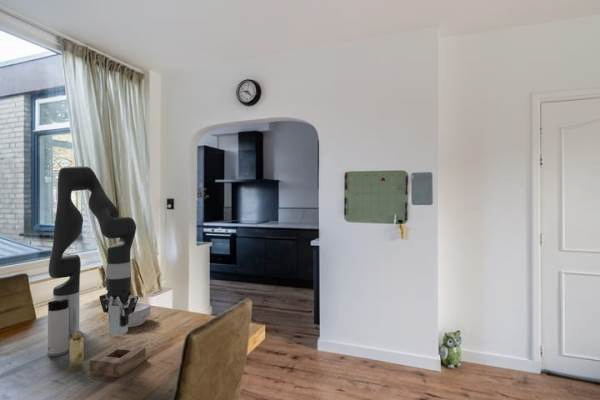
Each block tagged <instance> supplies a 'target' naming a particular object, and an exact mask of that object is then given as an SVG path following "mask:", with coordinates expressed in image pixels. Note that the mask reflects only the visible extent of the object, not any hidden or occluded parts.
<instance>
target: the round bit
mask: <svg viewBox="0 0 600 400" xmlns="http://www.w3.org/2000/svg"><path fill="white" fill-rule="evenodd" d="M71 336H72V337H71V338H70V339H69V364H68V365H69V372H77V371H81V370H83V369H84V367H85V363H84V362H85V360H84V358H85V357H84V356H85V353H84V352H85V351H84V349H85V346H84V345H85V340H84V339H85V337H84V336H82V332H81V331H79V332H75V333H73V334H72V335H71Z"/></svg>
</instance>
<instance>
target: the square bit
mask: <svg viewBox="0 0 600 400" xmlns="http://www.w3.org/2000/svg"><path fill="white" fill-rule="evenodd" d="M126 304H127V303H126ZM126 304H124V305H123V306H125V305H126ZM108 324H109V325H108V333H109V334H108V336H116V337H117V336H118V337H120V336H122V335H124V334H126V333H127V332H128V331H129V327H128V324H127V325H126V326H124V327H122V313H121V309H120V306H119V305H118V302H117V299H114V302H113V305H109V315H108Z"/></svg>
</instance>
